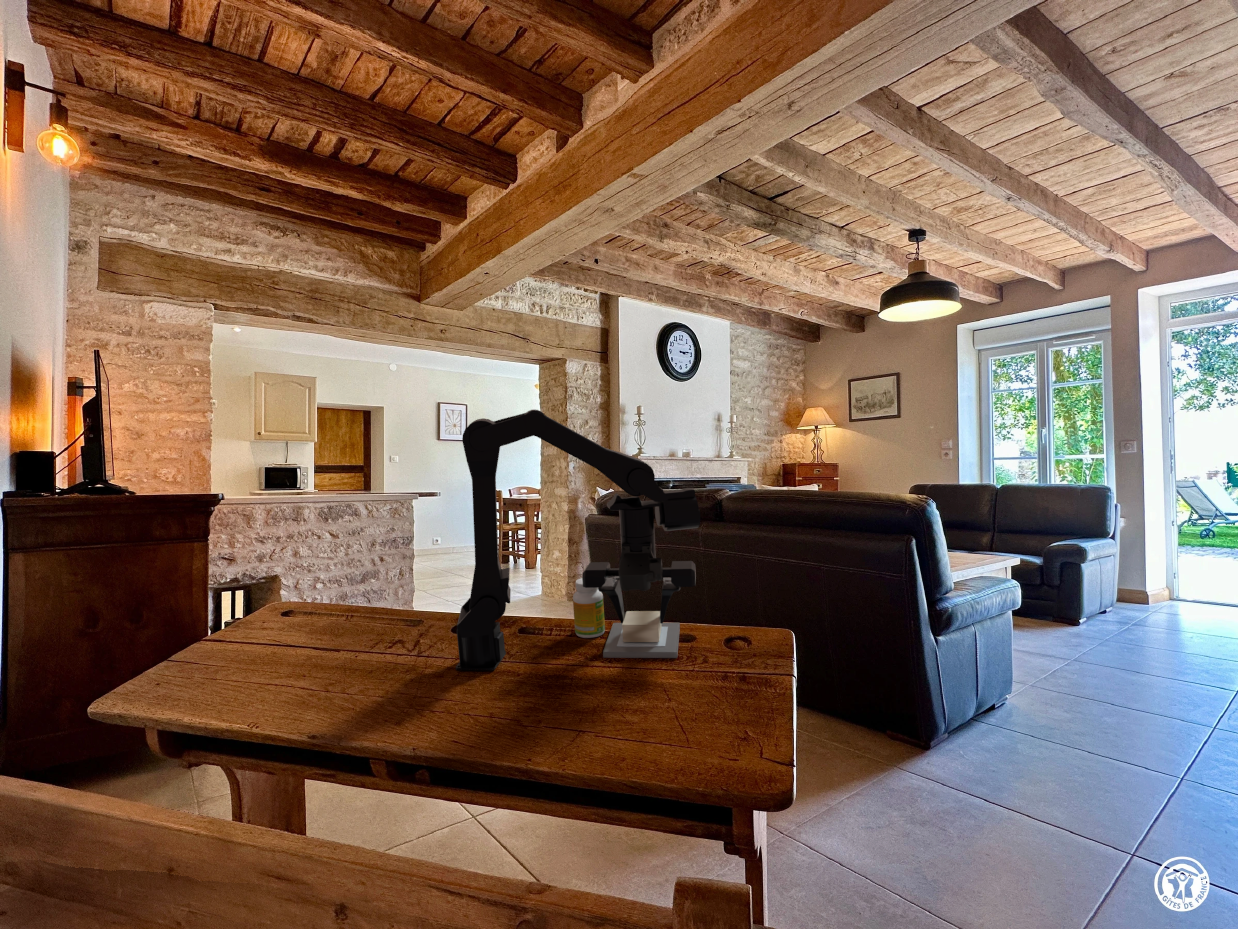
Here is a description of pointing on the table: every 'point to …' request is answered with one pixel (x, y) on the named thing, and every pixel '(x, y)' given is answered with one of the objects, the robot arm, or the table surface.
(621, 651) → the baseplate
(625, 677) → the table surface
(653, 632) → the birch block
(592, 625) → the supplement bottle
